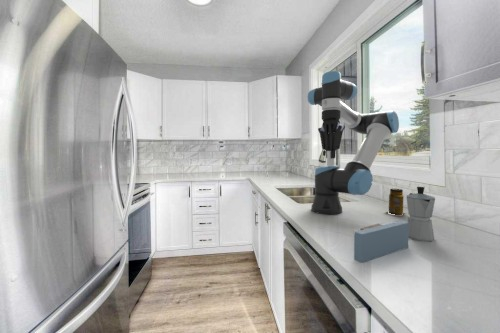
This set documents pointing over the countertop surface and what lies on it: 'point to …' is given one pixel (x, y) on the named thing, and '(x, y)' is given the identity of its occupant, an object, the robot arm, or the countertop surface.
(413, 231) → the coffee maker
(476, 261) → the countertop surface
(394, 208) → the condiment
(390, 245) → the slate board
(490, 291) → the countertop surface
